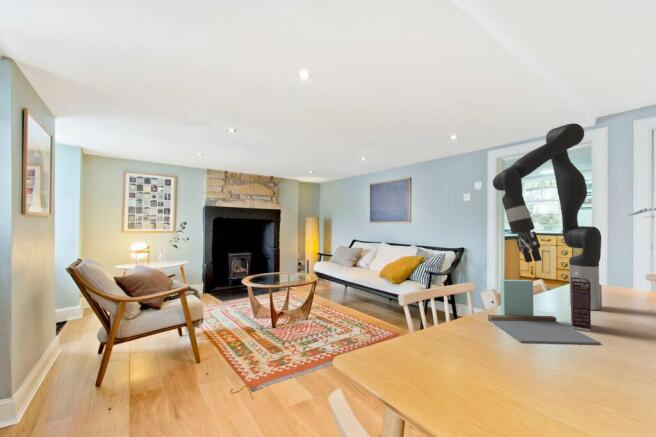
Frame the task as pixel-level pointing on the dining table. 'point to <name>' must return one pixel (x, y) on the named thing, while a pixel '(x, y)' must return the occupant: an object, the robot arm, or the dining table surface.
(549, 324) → the grey board with ledge
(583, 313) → the supplement box
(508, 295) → the tile
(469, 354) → the dining table surface
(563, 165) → the robot arm
